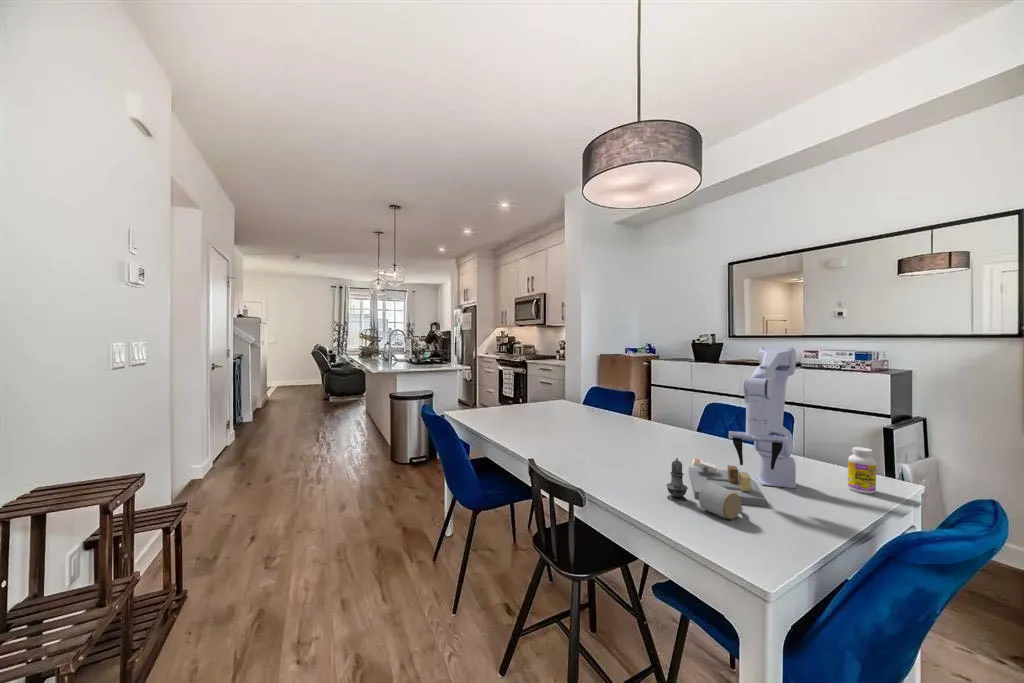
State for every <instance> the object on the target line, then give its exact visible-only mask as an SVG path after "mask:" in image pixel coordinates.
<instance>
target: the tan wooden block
mask: <svg viewBox="0 0 1024 683" xmlns="http://www.w3.org/2000/svg"><path fill="white" fill-rule="evenodd" d="M748 474H749V473H748ZM748 474H745V473H739V488H740V489H741V491H748V492H751V479H752V478H750V477H751V475H750V474H749V475H748Z"/></svg>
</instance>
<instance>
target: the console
mask: <svg viewBox="0 0 1024 683" xmlns="http://www.w3.org/2000/svg"><path fill="white" fill-rule="evenodd" d="M703 461H704V462H706V461H705V460H703ZM739 473H745V474H748V475H749V476H750V474H749V473H748V471H747V472H746V471H738V483H734V482H729V480H728V469H727V470H725V469H724V470H723V469H717V471H716V473H713V472H710V471H708V467H705V466H703V469H701V468H698V467H695V466H693V467H691V466H688V475H689V476H688V477H689V479H690V483H691V484H690V485H691V487H692V492H693V495H694V496H693V497H694V499H698V500H699V493H700V490H701V488H702V487H703V486H704V485H705V484H706V483H708V482H713V483H715V484H718V485H720V486H722V487H724V488H726V489H728V490H731V491H733V492H734V493H736V494H737V495H738V496H739V497H740V499H741V504H743V505H752V506H761V507H766V498H765V497H764V496H763V494H762V493H761V491H760V489H759V487H758V486H757V485H756V483H755V482H754V480H753V478H751V476H750V478H751V492H748V491H741V489H740V488H739Z"/></svg>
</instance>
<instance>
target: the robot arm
mask: <svg viewBox="0 0 1024 683" xmlns="http://www.w3.org/2000/svg"><path fill="white" fill-rule="evenodd" d="M758 363H759V365H758V366H756V367H755V369H754V370H753V372H752V374H751V376H750V377H747V378H745V379H744V381H743V395H744V403H745V405H746V406H745V431H731V430H729V431H728V439H730V440H732V444H733V445H734V448H735V450H736V453H737V456H738V459H739V465H740V466H743V465H744V459H743V458H744V457H743V441H749V442H753V446H754V447H753V448H754V450H755V451H756V452H758V455H759V475H756V477H755V478H756V479H757V480H758V482H759V483H760V484H761V485H762V486H769V487H780V488H790V489H797V485H796V476H797V475H796V474H797V473H796V472H797V471H796V462H795V461H796V460H795V459H794V457H793V456H792V453H793V435H792V433H791V431H790V430H789V429H787V428H786V427H785V426H784V425H783V424H784V412H785V405H786V404H785V403H786V402H785V401H786V392H787V382H788V379H789V377H791V376H793V375H794V374H795V371H796V366H797V365H796V364H797V352H796V349H795V348H794V347H792V346H791V347H764V346H761V347H760V348H759V350H758Z"/></svg>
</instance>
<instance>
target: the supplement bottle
mask: <svg viewBox="0 0 1024 683" xmlns="http://www.w3.org/2000/svg"><path fill="white" fill-rule="evenodd" d="M872 456H873V449H871V448H867V447H862V446H854V447H852V454H851V455H849V456H848V459H847V462H848V463H847V488H848V489H849V490H851V491H853V492H856V493H859V494H860V493H861V494H866V495H867V494H868V495H872V494H876V492H877V491H876V489H877V488H876V487H877V461H876V459H874V458H873V457H872Z"/></svg>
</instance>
